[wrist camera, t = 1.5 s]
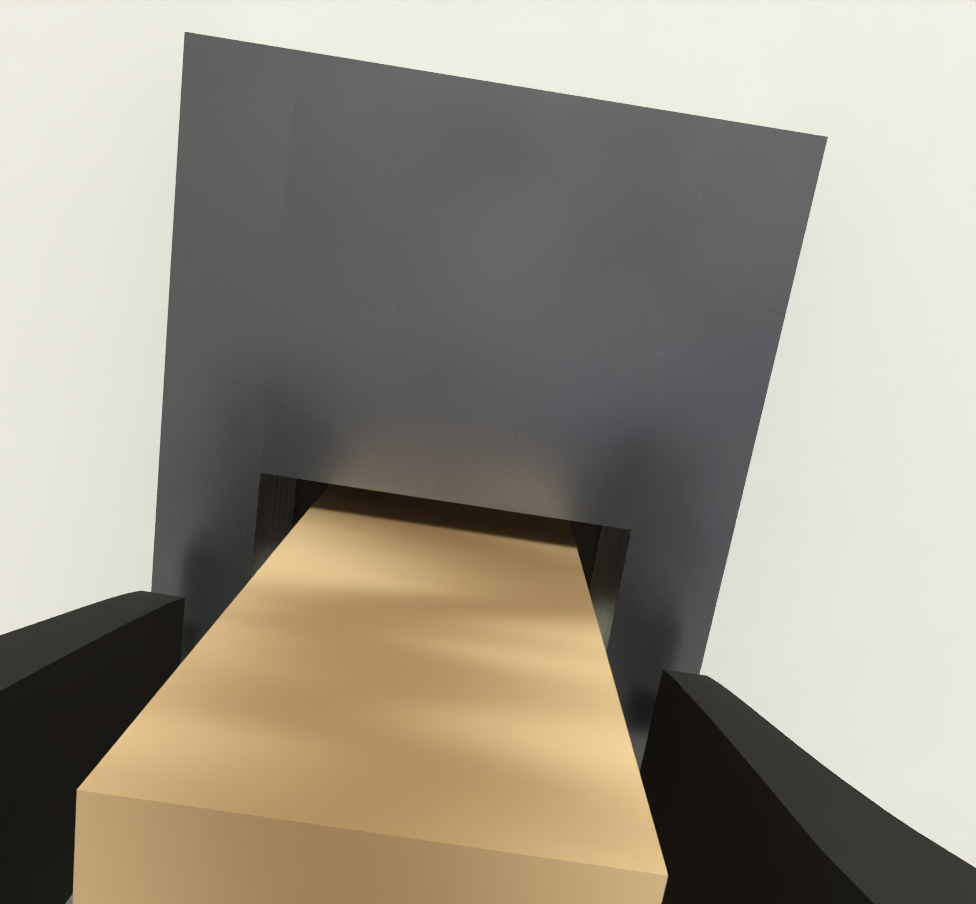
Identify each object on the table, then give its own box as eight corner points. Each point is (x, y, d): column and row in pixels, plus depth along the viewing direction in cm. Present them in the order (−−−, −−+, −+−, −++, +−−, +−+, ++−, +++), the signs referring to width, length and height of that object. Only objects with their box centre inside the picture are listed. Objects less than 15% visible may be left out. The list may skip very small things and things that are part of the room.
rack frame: (767, 163, 12) (831, 135, 9) (513, 1295, 17) (516, 1451, 15) (243, 77, 11) (182, 29, 9) (154, 1247, 17) (101, 1396, 15)
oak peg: (567, 515, 13) (668, 875, 5) (528, 723, 14) (564, 1298, 6) (333, 479, 13) (77, 790, 5) (309, 691, 14) (60, 1230, 6)
